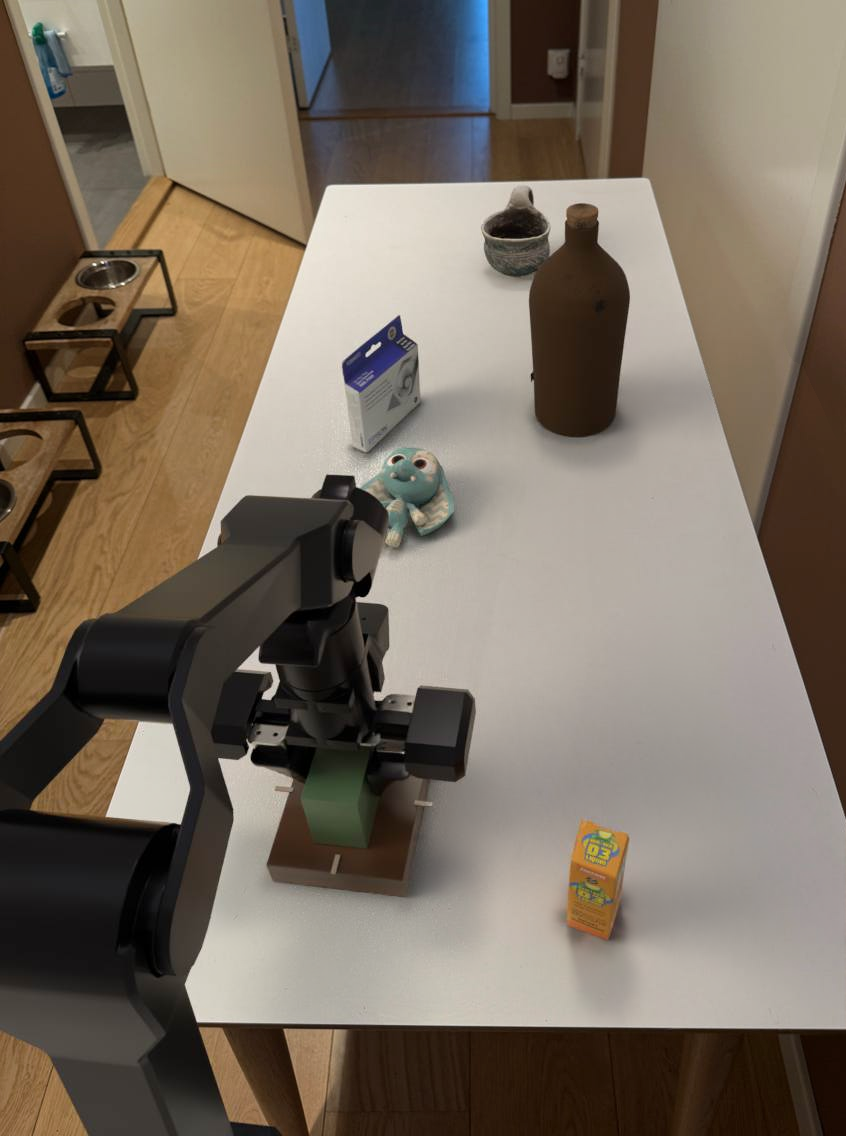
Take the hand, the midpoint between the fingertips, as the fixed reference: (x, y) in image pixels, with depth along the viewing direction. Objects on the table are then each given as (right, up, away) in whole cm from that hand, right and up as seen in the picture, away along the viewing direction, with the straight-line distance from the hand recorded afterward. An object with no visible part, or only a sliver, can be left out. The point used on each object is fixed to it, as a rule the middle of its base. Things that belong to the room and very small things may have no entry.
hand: (351, 787), depth 71 cm
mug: (+15, +55, +67) cm, 88 cm away
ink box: (-1, +30, +40) cm, 50 cm away
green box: (0, -1, +1) cm, 1 cm away
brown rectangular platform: (0, -3, +3) cm, 4 cm away
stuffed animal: (+2, +20, +28) cm, 34 cm away
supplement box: (+18, -8, -4) cm, 20 cm away
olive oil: (+21, +31, +40) cm, 55 cm away
